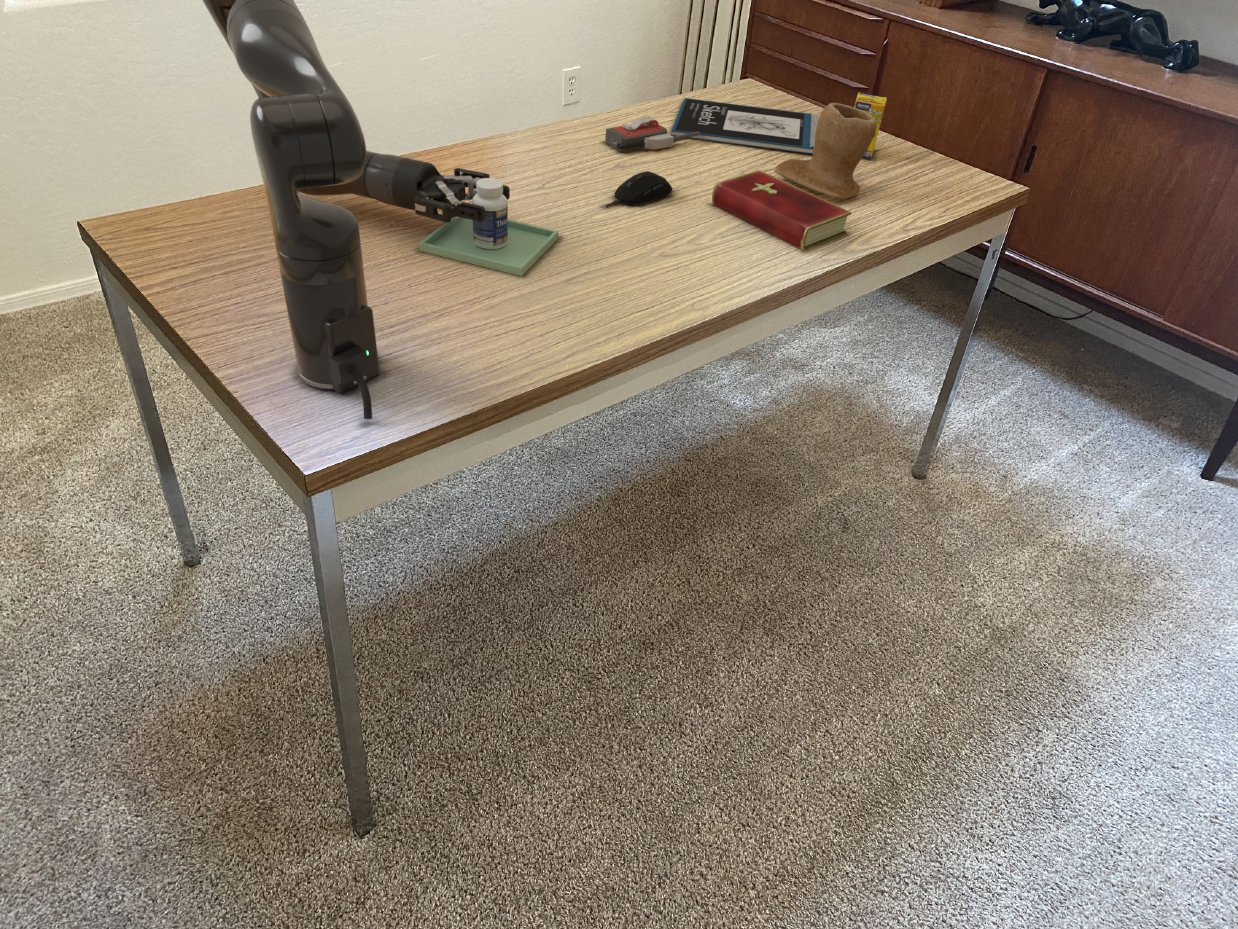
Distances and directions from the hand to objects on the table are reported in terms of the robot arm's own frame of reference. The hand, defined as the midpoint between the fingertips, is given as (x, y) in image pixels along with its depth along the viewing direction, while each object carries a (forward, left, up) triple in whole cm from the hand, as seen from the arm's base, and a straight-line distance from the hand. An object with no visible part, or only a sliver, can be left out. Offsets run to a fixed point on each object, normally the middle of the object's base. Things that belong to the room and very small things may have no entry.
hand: (496, 203), depth 137 cm
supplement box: (-19, -85, -7) cm, 87 cm away
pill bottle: (+1, 0, -7) cm, 7 cm away
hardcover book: (-25, -44, -7) cm, 51 cm away
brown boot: (-23, -63, -7) cm, 67 cm away
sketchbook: (+4, -78, -7) cm, 78 cm away
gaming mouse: (-3, -32, -7) cm, 33 cm away
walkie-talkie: (+12, -55, -7) cm, 56 cm away
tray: (+1, 0, -7) cm, 7 cm away
